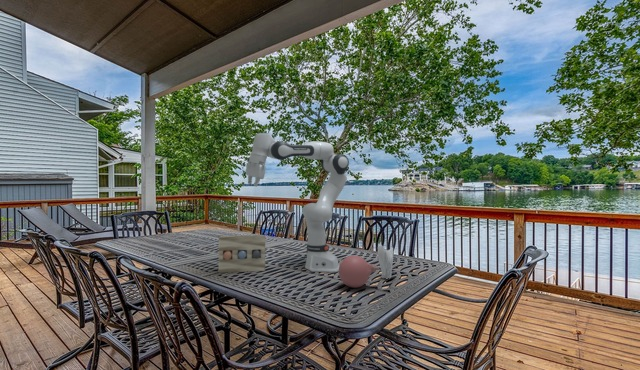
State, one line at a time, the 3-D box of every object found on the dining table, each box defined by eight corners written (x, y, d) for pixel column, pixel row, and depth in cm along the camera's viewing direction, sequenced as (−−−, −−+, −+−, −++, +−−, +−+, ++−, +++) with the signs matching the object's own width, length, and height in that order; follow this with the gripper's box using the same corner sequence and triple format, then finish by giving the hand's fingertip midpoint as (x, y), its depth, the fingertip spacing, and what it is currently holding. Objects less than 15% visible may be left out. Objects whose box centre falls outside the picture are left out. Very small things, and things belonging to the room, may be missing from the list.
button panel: (221, 266, 185) (221, 234, 185) (264, 264, 190) (264, 232, 190) (218, 272, 172) (218, 237, 172) (265, 270, 177) (265, 236, 177)
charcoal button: (252, 257, 177) (252, 249, 177) (260, 256, 178) (260, 249, 178) (252, 258, 173) (252, 251, 173) (260, 258, 174) (260, 250, 174)
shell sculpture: (395, 276, 167) (395, 244, 167) (392, 281, 159) (392, 246, 159) (380, 274, 170) (380, 242, 170) (376, 279, 163) (376, 245, 163)
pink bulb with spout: (380, 293, 141) (380, 260, 141) (337, 291, 144) (337, 258, 144) (378, 283, 156) (379, 253, 156) (339, 281, 159) (340, 251, 159)
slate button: (238, 257, 176) (238, 250, 176) (246, 257, 177) (246, 249, 177) (237, 259, 172) (238, 251, 172) (245, 259, 173) (246, 251, 173)
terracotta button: (224, 258, 174) (224, 250, 174) (232, 258, 175) (232, 250, 175) (223, 260, 170) (223, 252, 170) (231, 259, 171) (231, 251, 171)
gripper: (270, 163, 162) (264, 188, 162) (256, 160, 179) (251, 183, 179) (259, 160, 159) (253, 186, 159) (246, 158, 176) (241, 181, 176)
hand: (252, 185), depth 169 cm, fingers open, 8 cm apart
